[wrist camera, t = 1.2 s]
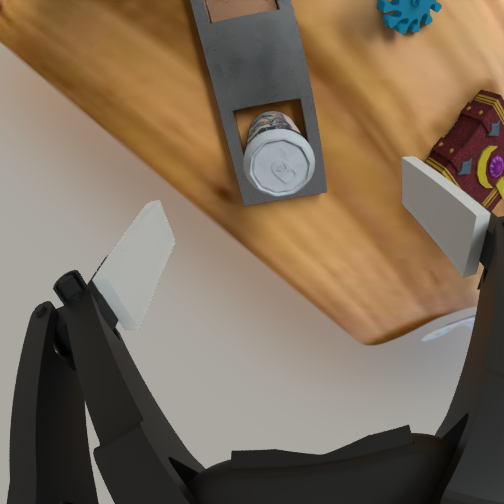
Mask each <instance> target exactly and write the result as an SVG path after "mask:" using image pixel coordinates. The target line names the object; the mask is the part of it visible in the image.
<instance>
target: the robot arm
mask: <svg viewBox="0 0 504 504" xmlns="http://www.w3.org/2000/svg"><path fill="white" fill-rule="evenodd" d="M402 204H403V206H404V207H405V208H406V209H407V210H408V211H409V212H410V213H411V214H412V215H413V217H414V218H415V219H416V220H417V221H418V222H419V223H420V225H421V226H422V227H423V228H424V229H425V230H426V232H427V233H428V234H429V235H430V236H431V237H432V239H433V240H434V241H435V242H436V244H437V245H438V246H439V247H440V249H441V250H442V251H443V252H444V254H445V255H446V256H447V257H448V259H449V260H450V261H451V263H452V264H453V265H454V267H455V268H456V269H457V271H458V272H459V273H460V275H461V276H462V278H463V277H467V276H470V275H474V274H476V272H477V268H478V265H479V261H480V262H481V264H482V265H483V266H484V270H483V273H482V276H481V279H480V282H479V285H478V288H477V289H478V290H480V294H479V300H478V306H477V312H476V317H475V322H474V327H473V332H472V336H471V340H470V344H469V348H468V352H467V356H466V359H465V363H464V367H463V370H462V373H461V376H460V380H459V383H458V385H457V389H456V391H455V394H454V397H453V400H452V402H451V405H450V408H449V410H448V413H447V415H446V417H445V419H444V421H443V422H442V424H441V426H440V427H439V429H438V431H437V432H436V434H435V436H434V435H429V434H420V433H411V431H410V427H409V425H406V426H403V427H399V428H396V429H393V430H388V431H385V432H381V433H377V434H373V435H368V436H366V437H364V438H362V439H360V440H358V441H355V442H353V443H351V444H349V445H346V446H344V447H342V448H340V449H337V450H335V451H332V452H329V453H327V454H323V455H316V454H306V453H298V452H290V451H283V450H276V449H271V450H248V451H247V450H246V451H232V453H231V460H227V461H224V462H221V463H218V464H216V465H214V466H211V467H209V468H208V469H205V468H204V467H203V466H202V465H201V464H200V463H199V462H198V461H197V460H196V459H195V458H194V457H193V456H192V455H191V454H190V452H189V451H188V450H187V448H186V447H185V446H184V444H183V443H182V441H181V440H180V438H179V437H178V435H177V434H176V433H175V431H174V429H173V428H172V426H171V425H170V423H169V422H168V420H167V419H166V417H165V416H164V414H163V413H162V411H161V409H160V408H159V406H158V404H157V403H156V401H155V399H154V398H153V396H152V394H151V392H150V391H149V389H148V387H147V385H146V384H145V382H144V380H143V379H142V377H141V375H140V373H139V371H138V369H137V367H136V365H135V363H134V361H133V360H132V358H131V356H130V354H129V352H128V350H127V348H126V346H125V344H124V341H123V339H122V337H121V335H120V333H119V332H118V330H117V329H116V324H117V322H118V321H119V322H120V323H121V325H122V326H123V328H124V329H125V330H135V329H140V327H141V325H142V322H143V320H144V317H145V314H146V312H147V309H148V307H149V304H150V302H151V299H152V297H153V294H154V292H155V289H156V287H157V284H158V282H159V280H160V277H161V275H162V273H163V270H164V268H165V265H166V263H167V261H168V259H169V256H170V254H171V252H172V250H173V248H174V245H175V243H176V241H175V238H174V236H173V233H172V231H171V228H170V226H169V223H168V221H167V218H166V215H165V213H164V210H163V208H162V205H161V202H160V200H156V201H152V202H149V203H147V204H146V205H145V207H144V208H143V209H142V211H141V212H140V213H139V214H138V215H137V217H136V218H135V219H134V221H133V222H132V224H131V225H130V226H129V228H128V229H127V230H126V231H125V233H124V234H123V236H122V237H121V238H120V240H119V241H118V243H117V244H116V245H115V247H114V248H113V250H112V251H111V252H110V254H109V255H108V256H107V257H106V258H105V259H104V260H103V262H102V263H101V266H99V268H98V269H97V272H95V274H94V275H93V277H92V278H91V280H90V281H89V283H88V285H87V284H86V283H85V281H84V280H83V278H82V276H81V275H80V273H79V272H78V271H77V270H73V271H70V272H68V273H66V274H64V275H63V276H62V277H60V278H59V279H58V281H57V282H56V283H55V285H54V288H53V289H54V291H55V292H56V294H57V295H58V297H59V298H60V300H61V301H62V302H63V304H64V306H62V307H60V308H57V309H55V307H54V306H53V304H52V303H51V302H50V301H47V302H44V303H42V304H39V305H38V307H36V308H35V310H34V311H33V313H32V315H31V318H30V321H29V325H28V328H27V332H26V336H25V340H24V344H23V349H22V353H21V358H20V362H19V367H18V373H17V378H16V384H15V391H14V399H13V406H12V416H11V429H10V484H9V491H8V499H7V504H99V503H98V498H97V492H96V487H95V482H94V477H93V471H92V465H91V459H90V452H89V445H88V437H87V427H86V415H85V402H86V405H87V408H88V411H89V414H90V417H91V420H92V423H93V426H94V429H95V431H96V434H97V436H98V439H99V442H100V446H99V447H96V448H95V449H94V452H93V454H94V458H95V461H96V464H97V466H98V469H99V471H100V473H101V475H102V478H103V480H104V482H105V484H106V486H107V489H108V491H109V493H110V495H111V497H112V499H113V501H114V503H115V504H504V216H501V217H497V216H496V215H495V214H493V213H492V212H491V211H490V210H489V209H488V208H486V207H485V206H483V204H482V203H480V202H478V200H477V199H476V198H474V197H473V196H472V195H470V194H468V193H466V192H464V191H463V190H461V189H460V188H459V187H457V186H456V185H455V184H453V183H452V182H451V181H449V180H448V179H447V178H445V177H444V176H442V175H441V174H440V173H438V172H437V171H435V170H434V169H432V168H431V167H429V166H428V165H426V164H425V163H423V162H422V161H420V160H419V159H417V158H416V157H414V156H410V157H402ZM55 350H56V351H57V353H56V351H55Z"/></svg>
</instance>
